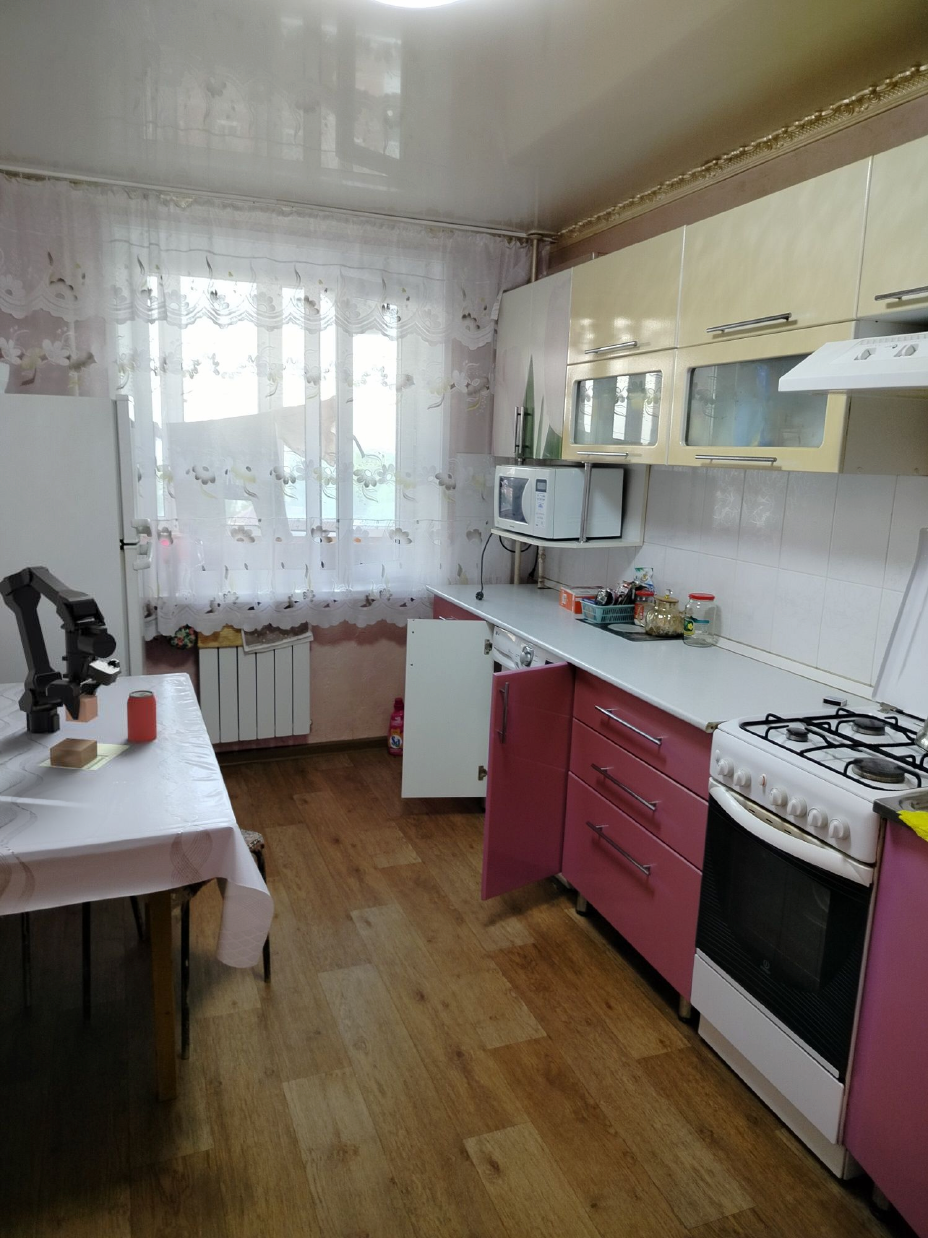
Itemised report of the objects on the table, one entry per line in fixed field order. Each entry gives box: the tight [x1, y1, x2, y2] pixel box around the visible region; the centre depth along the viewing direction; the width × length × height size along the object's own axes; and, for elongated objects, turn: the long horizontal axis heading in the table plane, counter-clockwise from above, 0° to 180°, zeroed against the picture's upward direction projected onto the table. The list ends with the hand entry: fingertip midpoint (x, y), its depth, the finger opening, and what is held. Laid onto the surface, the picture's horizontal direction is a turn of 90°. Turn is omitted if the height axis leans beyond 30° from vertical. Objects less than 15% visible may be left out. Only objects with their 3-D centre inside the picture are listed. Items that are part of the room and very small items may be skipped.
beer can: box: [126, 689, 158, 743], centre depth 205 cm, size 7×7×12 cm
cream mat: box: [38, 742, 130, 771], centre depth 192 cm, size 13×16×1 cm
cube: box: [64, 694, 99, 724], centre depth 196 cm, size 5×5×5 cm
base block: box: [49, 737, 98, 768], centre depth 188 cm, size 7×7×4 cm
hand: (81, 716), depth 196 cm, fingers closed on cube, 5 cm apart
